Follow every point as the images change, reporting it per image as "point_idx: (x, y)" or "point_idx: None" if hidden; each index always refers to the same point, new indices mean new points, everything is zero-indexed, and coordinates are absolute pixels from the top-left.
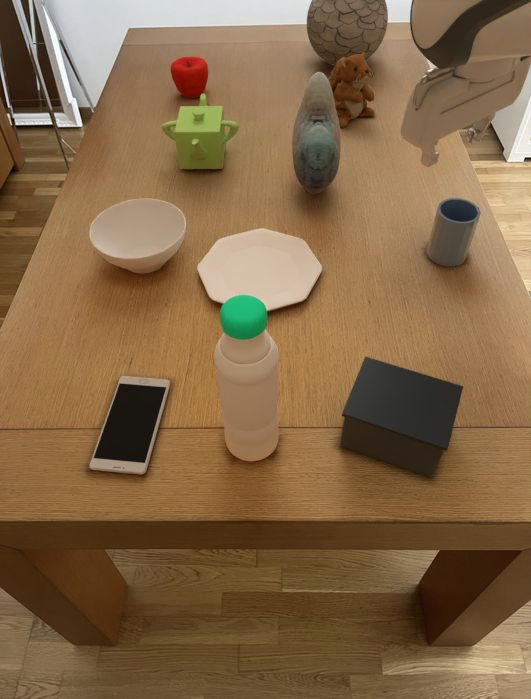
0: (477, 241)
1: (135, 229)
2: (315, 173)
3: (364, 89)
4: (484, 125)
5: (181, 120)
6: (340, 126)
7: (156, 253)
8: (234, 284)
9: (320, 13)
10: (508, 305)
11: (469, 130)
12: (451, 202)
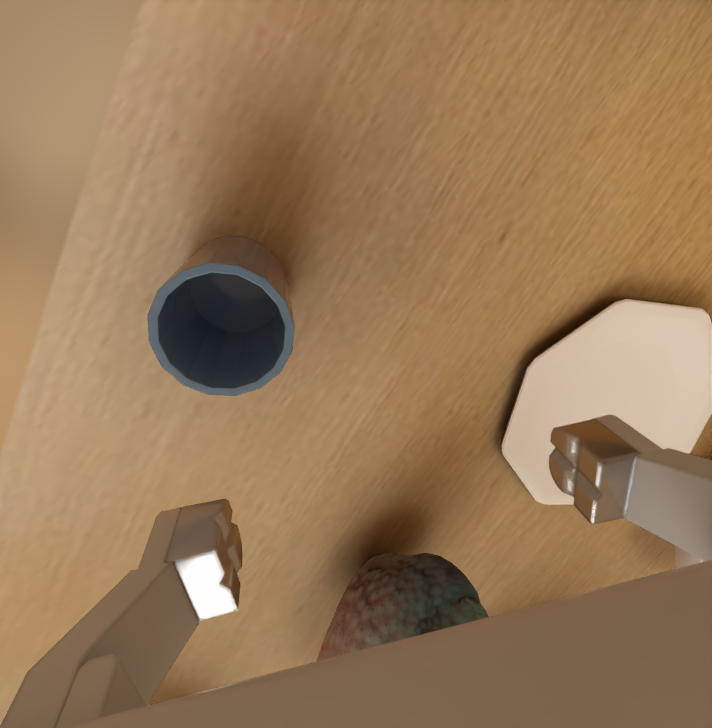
0: (126, 287)
1: (703, 560)
2: (473, 590)
3: None
4: (142, 608)
5: None
6: None
7: None
8: (662, 398)
9: None
10: (206, 15)
11: (234, 597)
12: (210, 382)
